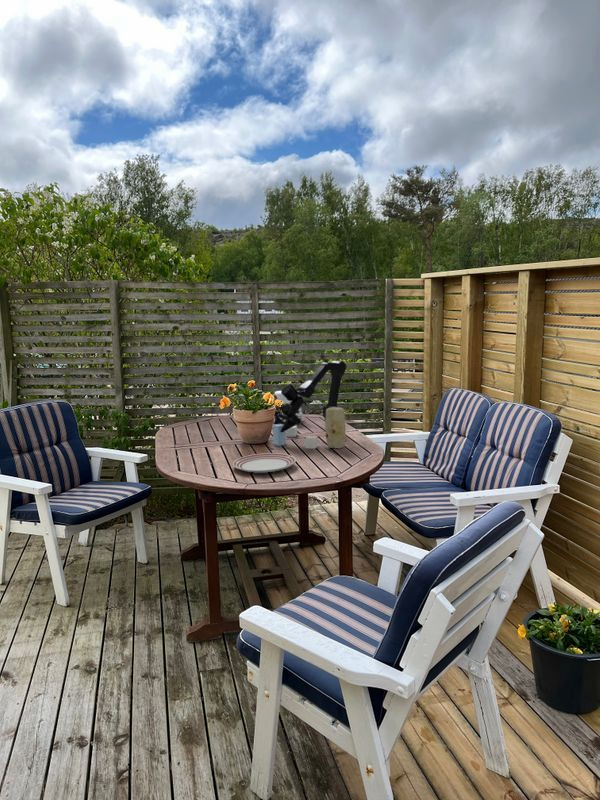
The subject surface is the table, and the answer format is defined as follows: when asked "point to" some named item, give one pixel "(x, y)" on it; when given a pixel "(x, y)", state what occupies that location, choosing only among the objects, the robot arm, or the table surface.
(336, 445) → the food model
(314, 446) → the cream cube
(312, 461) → the table surface
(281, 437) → the dusty blue block
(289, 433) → the pale grey cube
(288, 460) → the dinner plate
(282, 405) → the robot arm
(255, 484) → the table surface
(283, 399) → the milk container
